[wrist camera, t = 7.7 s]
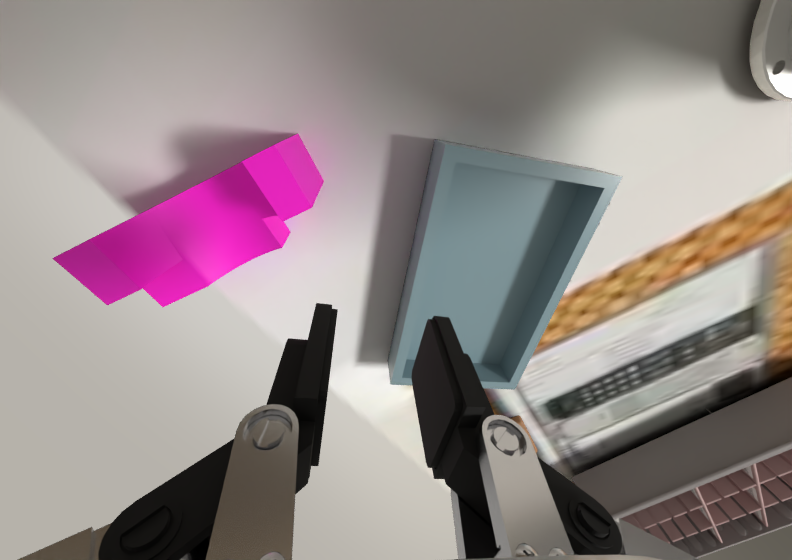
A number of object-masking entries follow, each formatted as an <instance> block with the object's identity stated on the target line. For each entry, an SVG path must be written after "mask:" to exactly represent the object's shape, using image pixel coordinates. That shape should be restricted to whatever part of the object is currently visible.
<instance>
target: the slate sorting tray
mask: <svg viewBox="0 0 792 560" xmlns="http://www.w3.org/2000/svg"><path fill="white" fill-rule="evenodd" d="M621 179H622V176H618V175H615V174H611V173H607V172H603V171H600V170H596V169H592V168H587V167H582V166H576V165H571V164H566V163H560V162H555V161H549V160H544V159H539V158H533V157H528V156H522V155H517V154H512V153H506V152H501V151H496V150H490V149H485V148H479V147H474V146H469V145H463V144H458V143H453V142H447V141H442V140H436V139H435V140H434V145H433V150H432V154H431V159H430V164H429V169H428V173H427V178H426V183H425V187H424V192H423V197H422V201H421V206H420V211H419V216H418V220H417V225H416V230H415V234H414V239H413V244H412V249H411V253H410V258H409V263H408V267H407V272H406V277H405V281H404V286H403V291H402V296H401V300H400V305H399V310H398V314H397V319H396V324H395V329H394V333H393V338H392V343H391V347H390V352H389V357H388V366H389V375H390V384H393V385H412V378H411V376H412V369H413V366H414V362H415V359H416V356H417V352H418V349H419V346H420V342H421V339H422V336H423V333H424V329H425V326H426V323H427V320H428V319H432V318H433V316H442V317H449V318H450V320H451V323H452V325H453V328H454V330H455V333H456V335H457V338H458V340H459V342H460V345H461V347H462V350H463V352H464V353H465V354H468V355H469V357H470V358H471V361H472V363H473V365H474V368H475V370H476V372H477V375H478V377H479V380H480V382H481V384H482V387H483V388H492V389H515V388H516V386H517V384H518V382H519V380H520V378H521V376H522V374H523V372H524V370H525V368H526V366H527V364H528V362H529V360H530V358H531V357H532V355H533V353H534V351H535V349H536V347H537V345H538V343H539V341H540V339H541V337H542V335H543V333H544V331H545V329H546V327H547V325H548V323H549V321H550V319H551V317H552V315H553V313H554V311H555V309H556V307H557V305H558V303H559V301H560V299H561V297H562V295H563V293H564V291H565V289H566V287H567V285H568V283H569V282H570V280H571V278H572V276H573V274H574V272H575V270H576V268H577V266H578V264H579V262H580V260H581V258H582V256H583V254H584V252H585V250H586V248H587V246H588V244H589V242H590V240H591V238H592V236H593V234H594V232H595V230H596V228H597V226H598V224H599V222H600V220H601V218H602V216H603V214H604V212H605V210H606V208H607V206H608V205H609V203H610V201H611V199H612V197H613V195H614V193H615V191H616V189H617V187H618V185H619V183H620V181H621Z"/></svg>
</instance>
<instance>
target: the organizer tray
mask: <svg viewBox="0 0 792 560" xmlns="http://www.w3.org/2000/svg"><path fill="white" fill-rule="evenodd" d="M706 409H707V408H706ZM707 410H708V409H707ZM708 411H709V410H708ZM709 412H710V411H709ZM710 413H711V412H710ZM571 478H572V480H573V481H574V483H575V485H576V486H578V487H579V488H580V489H582V490H583V491H584V492H586V493H587V494H589V495H590V496H591V497H593V498H594V499H595V500H596V501H598V502H599V503H600V504H601V505H602V506H603V507H604V508H605V509H606V510H607V511H608V512H609V514H610V515H611V516H612V518H613V519H614V520H616V519H617V518H620V519H622V520H624V521H626V522H628V523H630V524H632V525H634V526H636V527H638V528H640V529H642V530H643V531H645V532H647V533H649V534H651V535H653V536H655V537H657V538H659V539H661V540H663V541H665V542H667V543H669V544H671V545H673V546H674V547H676V548H678V549H680V550H682V551H684V552H686V553H688V554H690V555H692V556H694V557H695V558H699V557H702V556H705V555H708V554H711V553H714V552H716V551H719V550H722V549H725V548H727V547H730V546H733V545H736V544H739V543H742V542H745V541H747V540H750V539H753V538H756V537H759V536H762V535H764V534H767V533H770V532H773V531H776V530H779V529H781V528H784V527H787V526H790V525H792V377H791V378H788V379H786V380H784V381H782V382H780V383H777V384H775V385H773V386H771V387H769V388H766V389H764V390H762V391H760V392H758V393H755V394H753V395H751V396H749V397H747V398H745V399H742V400H740V401H738V402H736V403H734V404H731V405H729V406H727V407H725V408H723V409H720V410H718V411H716V412H714V413H712V414H709V415H707V416H705V417H703V418H701V419H698V420H696V421H694V422H692V423H690V424H687V425H685V426H683V427H681V428H679V429H677V430H674V431H672V432H670V433H668V434H666V435H663V436H661V437H659V438H657V439H655V440H652V441H650V442H648V443H646V444H644V445H641V446H639V447H637V448H635V449H633V450H630V451H628V452H626V453H624V454H622V455H620V456H617V457H615V458H613V459H611V460H609V461H606V462H604V463H602V464H600V465H598V466H595V467H593V468H591V469H589V470H587V471H584V472H582V473H580V474H578V475H576V476H573V477H571Z"/></svg>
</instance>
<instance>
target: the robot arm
mask: <svg viewBox="0 0 792 560" xmlns="http://www.w3.org/2000/svg"><path fill="white" fill-rule="evenodd" d="M749 61H750V66H751V71H752V76H753V78H754V80H755V82H756V84H757V86H758V88H759V89H761V90H762V91H763V92H764V93H765V94H766V95H767V96H769V97H772V98H774V99H776V100H782V101H792V0H761V3H760V6H759V9H758V12H757V15H756V18H755V20H754V24H753V29H752V34H751V40H750V58H749ZM336 318H337V309H332V305H329V304H319V303H317V304H316V307H315V311H314V316H313V320H312V324H311V329H310V333H309V337H308V340H300V339H289V338H288V340H287V342H286V345H285V348H284V352H283V355H282V358H281V361H280V364H279V367H278V370H277V373H276V376H275V380H274V383H273V386H272V389H271V392H270V395H269V399H268V402H267V405H264V406H261V407H259V408H256V409H254V410H253V411H251V412H250V413H249V414H247V415H246V416H245V417H244V418H243V419H242V421H241V422H240V424H239V426H238V428H237V431H236V434H235V438H234V439H233V440H231V441H230V442H228V443H227V444H225V445H223V446H222V447H221V448H219V449H217V450H216V451H214V452H212V453H211V454H209V455H208V456H206V457H205V458H203V459H201V460H200V461H198V462H197V463H195V464H194V465H192V466H190V467H189V468H187V469H186V470H184V471H183V472H181V473H180V474H178V475H176V476H175V477H173V478H172V479H170V480H168V481H167V482H165V483H164V484H162V485H161V486H159V487H157V488H156V489H154V490H153V491H151V492H150V493H148V494H146V495H145V496H143V497H142V498H140V499H139V500H137V501H135V502H134V503H133V504H132V505H130V506H129V507H128V508H126V509H125V510H124V511H123V512H122V513H121V514H120V515H119V516H118V517H117V518H116V519H115V520H114V521H113V522H112V523H111V524H108V525H106V526H104V527H102V528H99V529H97V530H95V531H94V530H93V528H92V527H91V528H88V529H86V530H84V531H81V532H79V533H77V534H75V535H72V536H70V537H68V538H65V539H63V540H61V541H59V542H56V543H54V544H52V545H50V546H47V547H45V548H43V549H41V550H38V551H36V552H34V553H32V554H29V555H27V556H25V557H23V558H20V559H18V560H292V546H293V527H294V509H295V508H294V507H295V494H296V493H298V491H300V490H301V489H302V488H303V487H304V486H305V485H306V484H307V483H308V478H309V476H310V469H311V466H318V464H319V455H320V448H321V440H322V431H323V424H324V416H325V408H326V400H327V392H328V384H329V376H330V368H331V359H332V351H333V343H334V335H335V326H336ZM411 378H412V385H413V390H414V396H415V402H416V407H417V413H418V419H419V424H420V430H421V436H422V441H423V447H424V452H425V458H426V463H427V466H428V467H429V468H432V470H433V475H434V479H445V482H446V484H447V485H448V486H449V487H450V488H451V500H452V508H453V517H454V525H455V534H456V542H457V551H458V558H459V559H456V560H698V559H697V558H695V557H694V556H692V555H690V554H688V553H686V552H684V551H682V550H680V549H678V548H676V547H674V546H673V545H671V544H669V543H667V542H665V541H663V540H661V539H659V538H657V537H655V536H653V535H651V534H649V533H647V532H645V531H643V530H642V529H640V528H638V527H636V526H634V525H632V524H630V523H628V522H626V521H624V520H622V519H620V518H617V519H616V520H614V519H613V518H612V516H611V515H610V514H609V512H608V511H607V510H606V509H605V508H604V507H603V506H602V505H601V504H600V503H599V502H598V501H596V500H595V499H594V498H593V497H591V496H590V495H589V494H587V493H586V492H584V491H583V490H582V489H580V488H579V487H578V486H576V485H575V484H573V483H572V482H571V481H569V480H568V479H567V478H565V477H564V476H563V475H561V474H560V473H558V472H557V471H556V470H554V469H553V468H552V467H550V466H549V465H547V464H546V463H545V462H543V461H542V460H541V459H539V458H538V457H537V455H536V453H535V450H534V447H533V445H532V442H531V440H530V438H529V436H528V434H527V433H526V431H525V430H524V429H523V428H522V427H521V426H520V425H519V424H518V423H516V422H515V421H513V420H512V419H510V418H508V417H505V416H501V415H494V413H493V410H492V408H491V405H490V403H489V401H488V398H487V396H486V394H485V391H484V389H483V387H482V384H481V382H480V380H479V377H478V375H477V372H476V370H475V368H474V365H473V363H472V361H471V358H470V357H469V355H468V354H465V353H464V352H463V350H462V347H461V345H460V342H459V340H458V338H457V335H456V333H455V330H454V328H453V325H452V323H451V320H450V318H449V317H442V316H433V318H432V319H428V320H427V323H426V326H425V329H424V333H423V336H422V339H421V342H420V346H419V349H418V352H417V356H416V359H415V362H414V366H413V369H412V376H411Z"/></svg>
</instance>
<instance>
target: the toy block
mask: <svg viewBox="0 0 792 560" xmlns="http://www.w3.org/2000/svg"><path fill="white" fill-rule="evenodd" d="M323 182H324V180H323V179H322V177H321V175H320V173H319V171H318V169H317V168H316V166H315V164H314V162H313V160H312V159H311V157H310V155H309V153H308V151H307V149H306V148H305V146H304V144H303V142H302V140H301V138H300V137H299V135H298V134H296V135H294V136H292V137H290V138H288V139H285V140H283V141H281V142H279V143H277V144H275V145H273V146H271V147H269V148H267V149H265V150H263V151H261V152H259V153H257V154H255V155H253V156H251V157H249V158H247V159H245V160H244V161H242V162H240V163H239V164H237V165H235V166H233V167H231V168H229V169H227V170H225V171H223V172H221V173H219V174H217V175H215V176H214V177H212V178H210V179H208V180H206V181H204V182H202V183H200V184H198V185H196V186H194V187H192V188H190V189H188V190H186V191H184V192H182V193H180V194H178V195H176V196H174V197H172V198H170V199H168V200H167V201H165V202H163V203H161V204H159V205H157V206H155V207H153V208H151V209H149V210H147V211H145V212H143V213H141V214H139V215H137V216H135V217H133V218H131V219H129V220H127V221H125V222H123V223H121V224H119V225H117V226H115V227H113V228H111V229H109V230H107V231H105V232H103V233H101V234H99V235H97V236H95V237H93V238H91V239H89V240H87V241H85V242H84V243H82V244H80V245H78V246H76V247H74V248H72V249H70V250H68V251H66V252H64V253H62V254H60V255H58V256H56V257H54V258H53V259H54V260H55V261H56V262H57V263H59V264H60V265H61V266H62V267H63V268H64V269H66V270H67V271H68V272H69V273H70V274H71V275H73V276H74V277H75V278H76V279H77V280H79V281H80V282H81V283H82V284H83V285H84V286H85V287H87V288H88V289H89V290H90V291H91V292H92V293H94V294H95V295H96V296H97V297H98V298H99V299H101V300H102V301H103V302H104V303H105V304H106V305H109V304H111V303H113V302H115V301H117V300H120V299H122V298H124V297H126V296H128V295H130V294H132V293H134V292H136V291H139V290H140V289H142V288H143V289H144V290H145V291H146V292H147V293H148V294H149V295H151V296H152V297H153V298H154V299H155V300H156V301H157V302H158V303H159V304H160V305H161V306H162V307H164V306H166V305H169V304H171V303H173V302H175V301H177V300H179V299H182V298H183V297H186V296H188V295H190V294H192V293H194V292H196V291H199V290H201V289H203V288H205V287H207V286H209V285H210V284H212V283H213V282H214V281H216V280H217V279H219V278H220V277H222V276H224V275H225V274H227V273H228V272H230V271H232V270H233V269H235V268H237V267H239V266H240V265H242V264H244V263H246V262H248V261H250V260H252V259H254V258H256V257H258V256H260V255H263V254H265V253H268V252H270V251H273V250H276V249H279V248H282V247H283V245H284V243H285V241H286V240H287V238H288V236H289V234H290V231H289V229H288V227H287V226H286V224H285V223H284V221H285V220H287V219H289V218H291V217H293V216H296V215H298V214H300V213H302V212H304V211H306V210H308V209H310V208H312V206H313V204H314V202H315V200H316V197H317V195H318V193H319V191H320V189H321V186H322V184H323Z"/></svg>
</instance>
